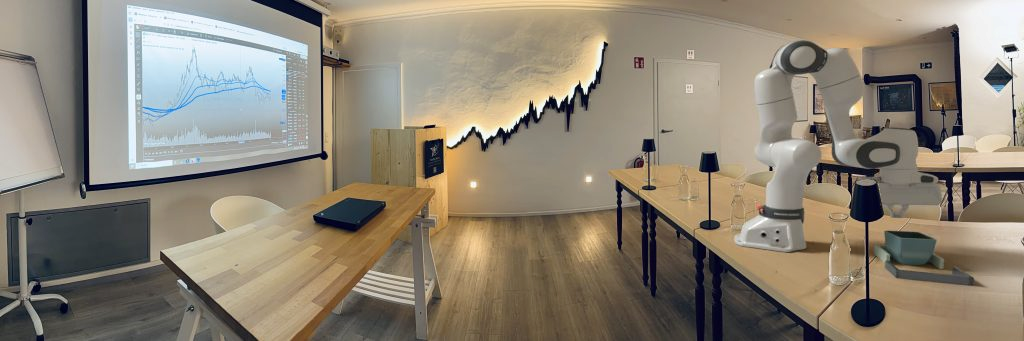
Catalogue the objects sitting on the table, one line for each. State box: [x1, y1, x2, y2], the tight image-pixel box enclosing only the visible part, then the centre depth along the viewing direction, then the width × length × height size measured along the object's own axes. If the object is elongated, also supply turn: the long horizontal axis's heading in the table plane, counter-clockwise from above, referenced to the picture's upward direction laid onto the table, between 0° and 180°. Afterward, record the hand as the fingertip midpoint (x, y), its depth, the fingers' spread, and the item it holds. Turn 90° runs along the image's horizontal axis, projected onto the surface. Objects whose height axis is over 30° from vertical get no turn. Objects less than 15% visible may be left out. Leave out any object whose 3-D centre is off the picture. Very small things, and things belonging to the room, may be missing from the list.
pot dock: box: [884, 260, 974, 287], centre depth 111 cm, size 15×8×2 cm, turn 63°
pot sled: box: [873, 243, 945, 270], centre depth 123 cm, size 13×13×6 cm
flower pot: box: [883, 230, 937, 266], centre depth 121 cm, size 9×9×9 cm
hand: (896, 217), depth 131 cm, fingers closed
